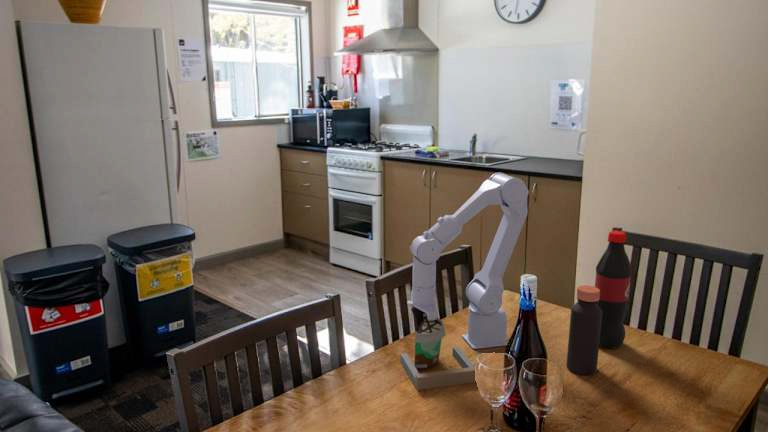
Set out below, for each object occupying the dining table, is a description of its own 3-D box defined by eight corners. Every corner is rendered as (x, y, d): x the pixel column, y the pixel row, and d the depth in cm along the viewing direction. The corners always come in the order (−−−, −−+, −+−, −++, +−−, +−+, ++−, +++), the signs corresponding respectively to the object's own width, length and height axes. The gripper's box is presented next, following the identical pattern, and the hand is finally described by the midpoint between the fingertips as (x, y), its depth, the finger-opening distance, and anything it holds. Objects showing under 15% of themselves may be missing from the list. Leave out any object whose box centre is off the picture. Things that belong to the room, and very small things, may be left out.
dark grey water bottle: (579, 378, 127) (587, 296, 122) (560, 364, 133) (566, 285, 128) (603, 372, 129) (611, 292, 125) (582, 359, 135) (590, 282, 131)
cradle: (458, 354, 138) (458, 342, 137) (480, 381, 125) (481, 369, 125) (400, 361, 134) (400, 349, 134) (417, 390, 122) (417, 377, 121)
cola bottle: (628, 342, 144) (641, 231, 137) (617, 354, 138) (629, 238, 131) (596, 333, 150) (606, 225, 143) (583, 344, 143) (594, 232, 137)
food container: (439, 377, 127) (442, 337, 125) (413, 373, 129) (415, 334, 126) (446, 351, 139) (448, 315, 136) (422, 348, 140) (423, 312, 138)
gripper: (400, 275, 143) (399, 324, 146) (417, 296, 129) (415, 349, 132) (426, 273, 145) (424, 322, 148) (445, 293, 131) (443, 346, 134)
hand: (422, 335), depth 140 cm, fingers closed
